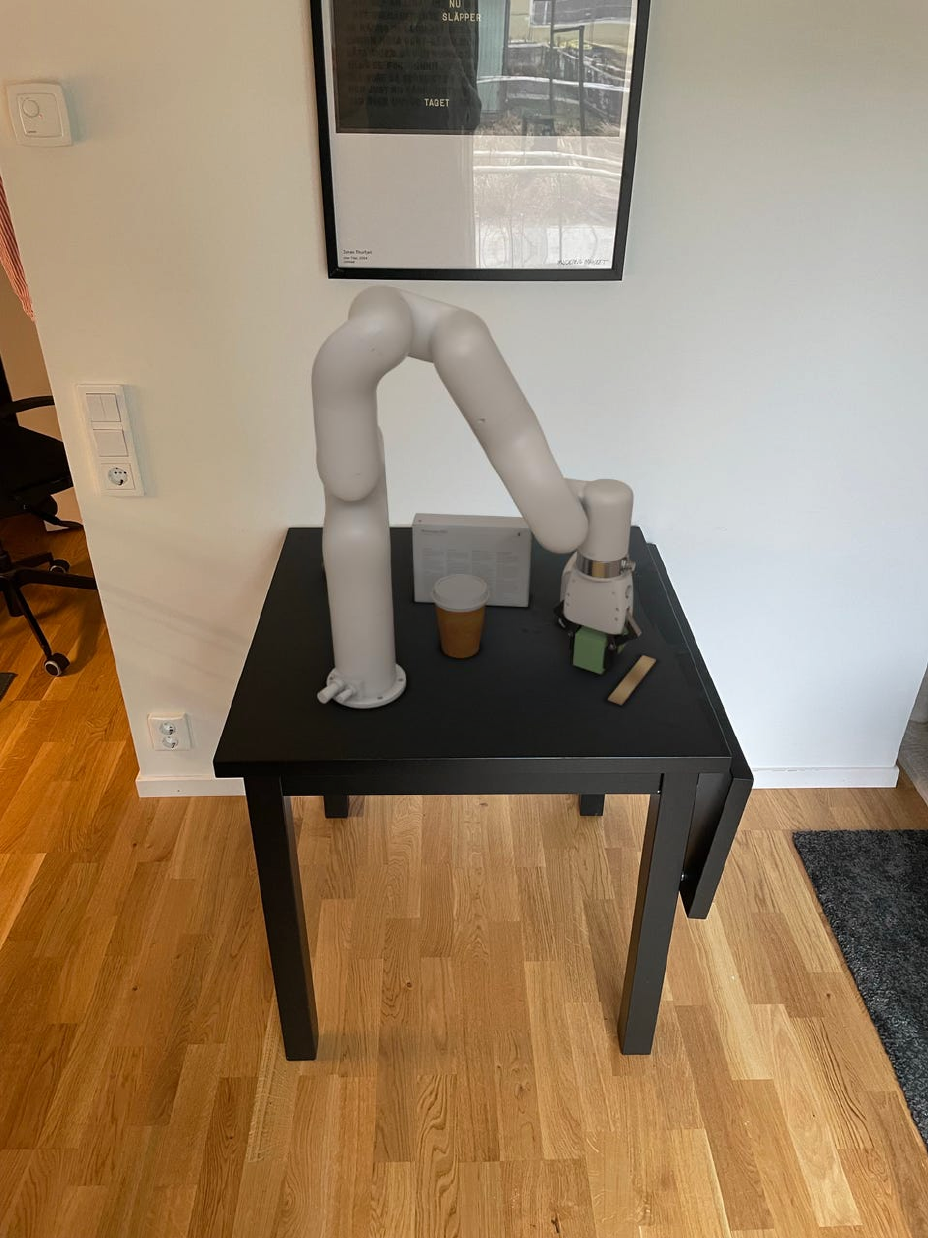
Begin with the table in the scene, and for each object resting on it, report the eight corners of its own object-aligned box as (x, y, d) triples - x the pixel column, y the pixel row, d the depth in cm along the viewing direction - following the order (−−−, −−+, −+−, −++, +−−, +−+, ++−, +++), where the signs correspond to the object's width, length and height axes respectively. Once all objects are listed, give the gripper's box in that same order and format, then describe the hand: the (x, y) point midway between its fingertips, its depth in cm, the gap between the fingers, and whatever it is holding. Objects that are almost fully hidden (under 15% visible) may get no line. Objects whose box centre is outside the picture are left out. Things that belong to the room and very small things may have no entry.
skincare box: (529, 593, 169) (532, 516, 160) (528, 608, 164) (531, 530, 156) (417, 587, 170) (415, 510, 162) (413, 602, 166) (410, 524, 157)
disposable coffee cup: (476, 627, 159) (476, 568, 152) (497, 656, 151) (498, 595, 145) (424, 638, 156) (423, 578, 149) (443, 668, 148) (442, 606, 142)
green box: (572, 665, 146) (575, 634, 143) (599, 635, 153) (601, 605, 150) (601, 674, 144) (604, 643, 140) (626, 644, 151) (629, 614, 147)
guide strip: (621, 705, 140) (622, 703, 140) (607, 700, 141) (607, 698, 141) (656, 661, 150) (656, 659, 150) (642, 656, 151) (642, 655, 151)
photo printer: (578, 631, 158) (583, 570, 151) (555, 626, 159) (559, 564, 152) (596, 603, 166) (602, 543, 159) (573, 598, 167) (578, 539, 160)
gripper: (664, 565, 135) (650, 664, 144) (562, 537, 142) (556, 633, 152) (644, 586, 129) (632, 688, 139) (539, 556, 137) (534, 654, 147)
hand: (592, 658), depth 145 cm, fingers closed on green box, 5 cm apart
